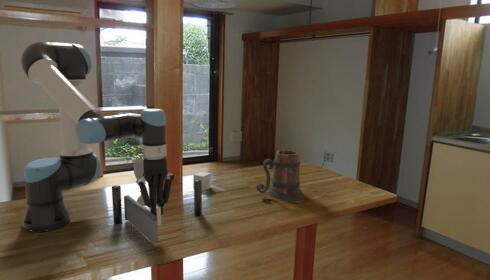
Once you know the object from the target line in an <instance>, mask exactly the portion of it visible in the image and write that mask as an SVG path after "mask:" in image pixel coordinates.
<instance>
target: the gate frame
mask: <svg viewBox="0 0 490 280" xmlns="http://www.w3.org/2000/svg"><path fill="white" fill-rule="evenodd" d="M121 191H122V187H121V185H112V186H111V195H112V196H111V198H112V199H111V200H112V213H113V214H112V215H113V219H112V221H113V224H114V225H121V224H122V223H123V211H122V192H121ZM202 200H203V191H202V180H194V189H193V215H194V216H195V217H200V216H202V215H203V213H202V212H203V207H202V206H203V205H202V204H203V203H202V202H203V201H202Z"/></svg>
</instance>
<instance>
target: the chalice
mask: <svg viewBox="0 0 490 280" xmlns="http://www.w3.org/2000/svg"><path fill="white" fill-rule="evenodd" d="M132 164H133V174H134V176H135V178H136V181H137V180H140V179H141V178H142V177H143V173H144V168H143V158H138V159H134V160H132ZM145 182H147V181H146V180H145ZM139 192H140V195H139V196H138V197H137V199H136V201H137V202H138V203H139V204H140V205H145V203H144V200H143V197H142V193H141V190H140V189H139Z"/></svg>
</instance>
